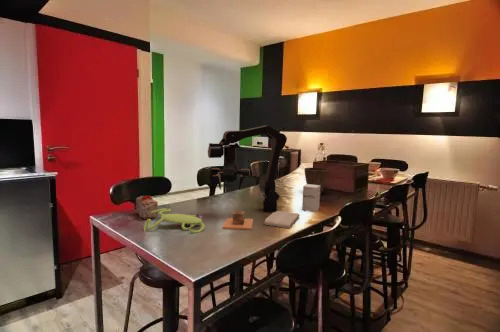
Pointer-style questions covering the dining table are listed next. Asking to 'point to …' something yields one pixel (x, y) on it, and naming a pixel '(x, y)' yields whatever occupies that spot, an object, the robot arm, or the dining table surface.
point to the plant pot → (316, 176)
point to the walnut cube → (238, 217)
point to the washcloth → (282, 219)
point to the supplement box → (311, 197)
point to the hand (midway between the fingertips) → (229, 189)
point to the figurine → (176, 220)
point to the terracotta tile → (230, 225)
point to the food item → (146, 207)
